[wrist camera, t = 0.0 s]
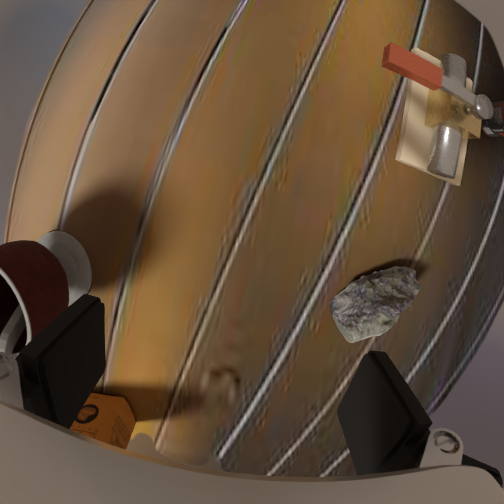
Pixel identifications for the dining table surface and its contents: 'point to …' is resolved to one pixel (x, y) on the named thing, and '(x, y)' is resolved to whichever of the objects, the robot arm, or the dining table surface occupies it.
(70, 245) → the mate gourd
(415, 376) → the dining table surface
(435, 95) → the valve body
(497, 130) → the supplement bottle
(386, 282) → the mineral rock
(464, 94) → the lever
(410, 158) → the board
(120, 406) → the coffee package
